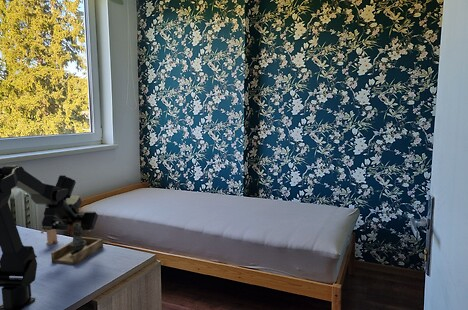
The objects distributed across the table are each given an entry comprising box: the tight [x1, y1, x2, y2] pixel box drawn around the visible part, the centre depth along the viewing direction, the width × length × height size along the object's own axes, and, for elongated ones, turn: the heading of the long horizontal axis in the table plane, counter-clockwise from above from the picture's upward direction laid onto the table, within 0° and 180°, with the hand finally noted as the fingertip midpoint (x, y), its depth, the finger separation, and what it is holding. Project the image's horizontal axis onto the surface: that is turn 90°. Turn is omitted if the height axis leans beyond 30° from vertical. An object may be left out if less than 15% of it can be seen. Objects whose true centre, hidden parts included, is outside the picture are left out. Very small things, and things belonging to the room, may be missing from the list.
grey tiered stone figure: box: [68, 222, 86, 255], centre depth 131 cm, size 6×6×12 cm
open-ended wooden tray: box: [50, 236, 104, 266], centre depth 132 cm, size 16×10×4 cm, turn 166°
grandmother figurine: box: [40, 226, 59, 246], centre depth 142 cm, size 8×4×13 cm, turn 157°
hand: (79, 230), depth 132 cm, fingers open, 9 cm apart
